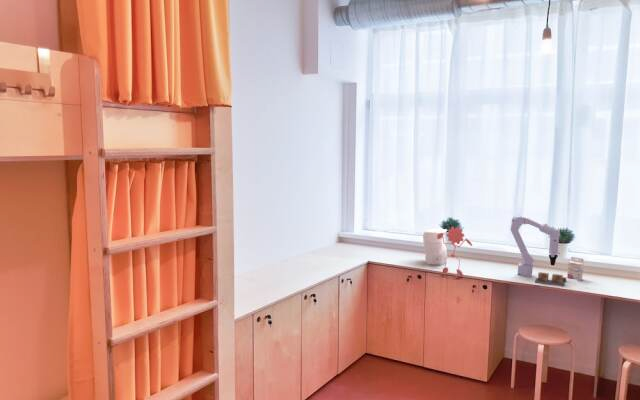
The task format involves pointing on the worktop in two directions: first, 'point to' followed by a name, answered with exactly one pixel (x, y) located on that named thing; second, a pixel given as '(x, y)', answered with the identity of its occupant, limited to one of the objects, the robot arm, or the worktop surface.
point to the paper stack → (434, 247)
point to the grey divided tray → (549, 282)
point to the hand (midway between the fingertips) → (552, 265)
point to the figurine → (455, 237)
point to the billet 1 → (543, 276)
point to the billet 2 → (557, 278)
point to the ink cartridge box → (575, 268)
